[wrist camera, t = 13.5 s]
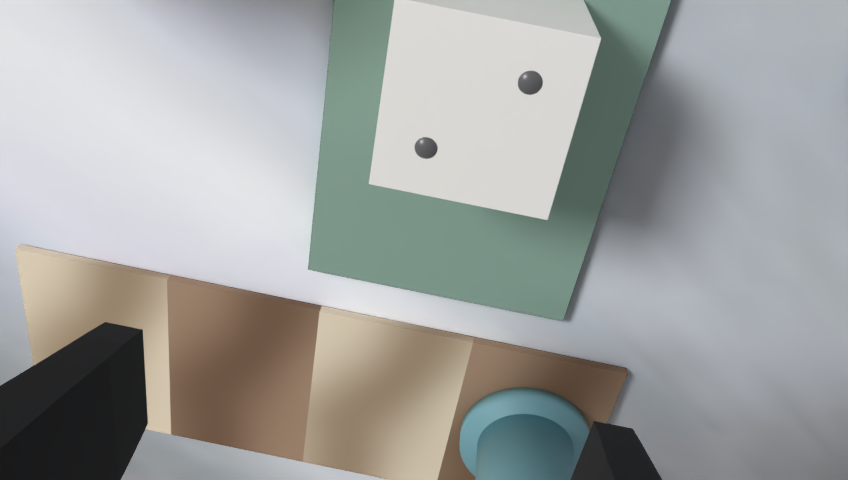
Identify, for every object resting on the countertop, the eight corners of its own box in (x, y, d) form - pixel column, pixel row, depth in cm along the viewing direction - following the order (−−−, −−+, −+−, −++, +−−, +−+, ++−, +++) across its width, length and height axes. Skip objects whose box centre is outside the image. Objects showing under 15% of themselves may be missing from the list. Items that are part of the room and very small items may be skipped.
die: (586, -2, 17) (606, 40, 13) (543, 154, 19) (550, 227, 15) (419, -34, 17) (393, -2, 13) (394, 124, 19) (367, 190, 15)
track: (626, 368, 22) (627, 374, 22) (567, 509, 26) (568, 516, 26) (21, 244, 22) (15, 249, 22) (44, 401, 26) (40, 407, 26)
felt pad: (673, -18, 16) (676, -16, 16) (562, 315, 22) (562, 321, 21) (345, -83, 17) (342, -82, 16) (310, 264, 22) (307, 269, 21)
